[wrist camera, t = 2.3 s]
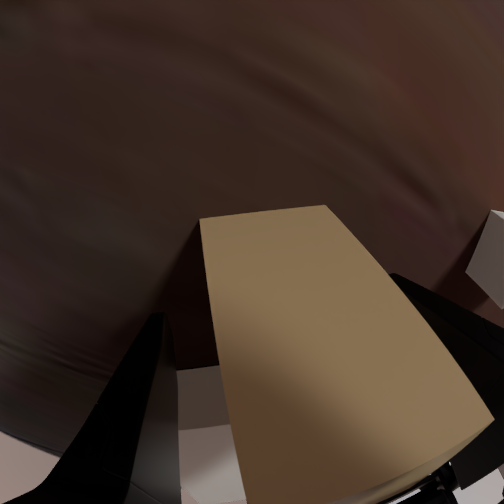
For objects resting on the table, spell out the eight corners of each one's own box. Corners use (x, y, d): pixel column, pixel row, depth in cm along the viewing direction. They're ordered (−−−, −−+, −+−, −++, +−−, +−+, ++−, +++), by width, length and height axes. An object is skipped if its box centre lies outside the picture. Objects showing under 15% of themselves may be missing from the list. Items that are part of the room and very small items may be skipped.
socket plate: (371, 434, 24) (383, 460, 21) (196, 474, 21) (200, 505, 19) (440, 311, 15) (470, 348, 12) (133, 374, 12) (132, 433, 10)
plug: (315, 299, 12) (409, 488, 5) (213, 316, 11) (257, 537, 5) (325, 205, 10) (495, 419, 3) (199, 219, 9) (251, 521, 3)
